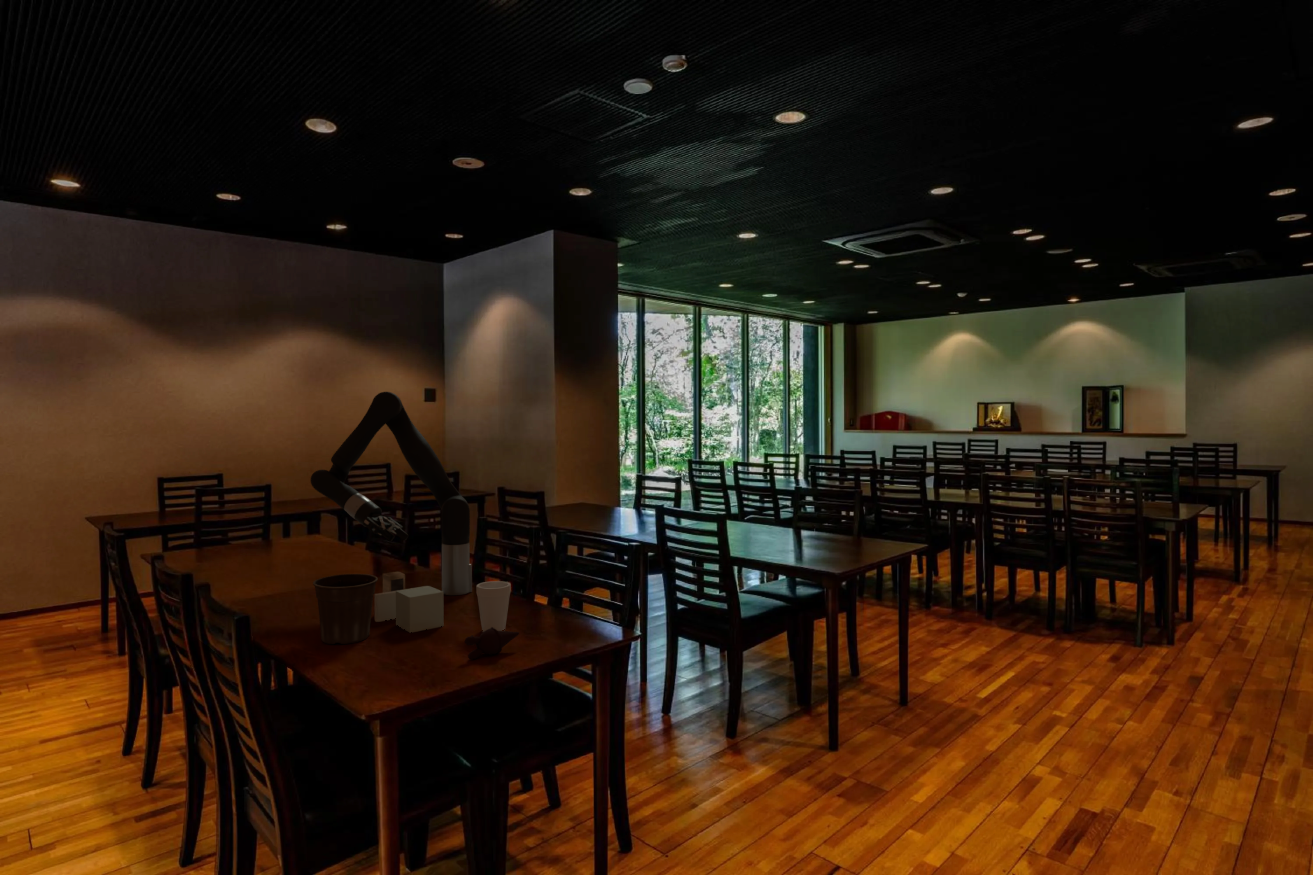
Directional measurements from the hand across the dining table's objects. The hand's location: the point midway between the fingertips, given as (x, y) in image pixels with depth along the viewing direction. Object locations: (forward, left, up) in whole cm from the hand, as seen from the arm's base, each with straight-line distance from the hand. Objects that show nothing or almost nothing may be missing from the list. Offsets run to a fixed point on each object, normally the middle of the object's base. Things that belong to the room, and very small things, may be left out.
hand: (400, 538), depth 229 cm
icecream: (0, +61, -22) cm, 65 cm away
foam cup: (-10, +43, -22) cm, 49 cm away
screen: (+4, +12, -22) cm, 25 cm away
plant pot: (+24, +23, -22) cm, 40 cm away
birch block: (+4, +6, -22) cm, 23 cm away
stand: (+4, +25, -22) cm, 33 cm away
